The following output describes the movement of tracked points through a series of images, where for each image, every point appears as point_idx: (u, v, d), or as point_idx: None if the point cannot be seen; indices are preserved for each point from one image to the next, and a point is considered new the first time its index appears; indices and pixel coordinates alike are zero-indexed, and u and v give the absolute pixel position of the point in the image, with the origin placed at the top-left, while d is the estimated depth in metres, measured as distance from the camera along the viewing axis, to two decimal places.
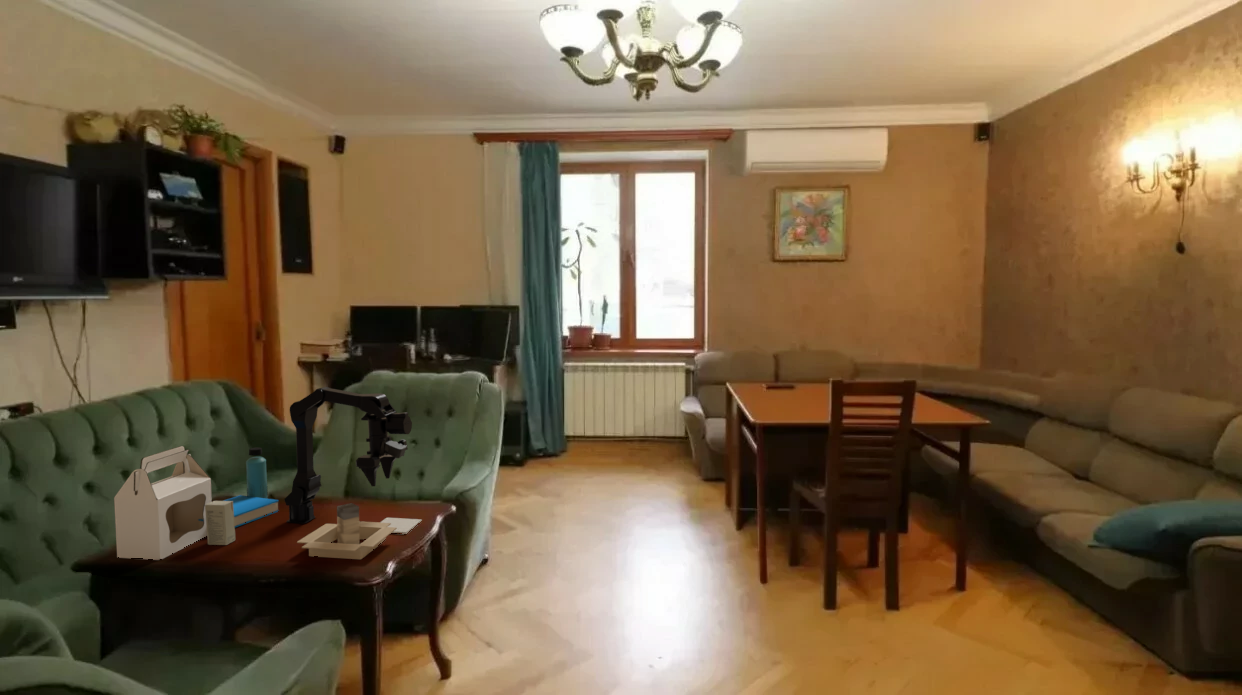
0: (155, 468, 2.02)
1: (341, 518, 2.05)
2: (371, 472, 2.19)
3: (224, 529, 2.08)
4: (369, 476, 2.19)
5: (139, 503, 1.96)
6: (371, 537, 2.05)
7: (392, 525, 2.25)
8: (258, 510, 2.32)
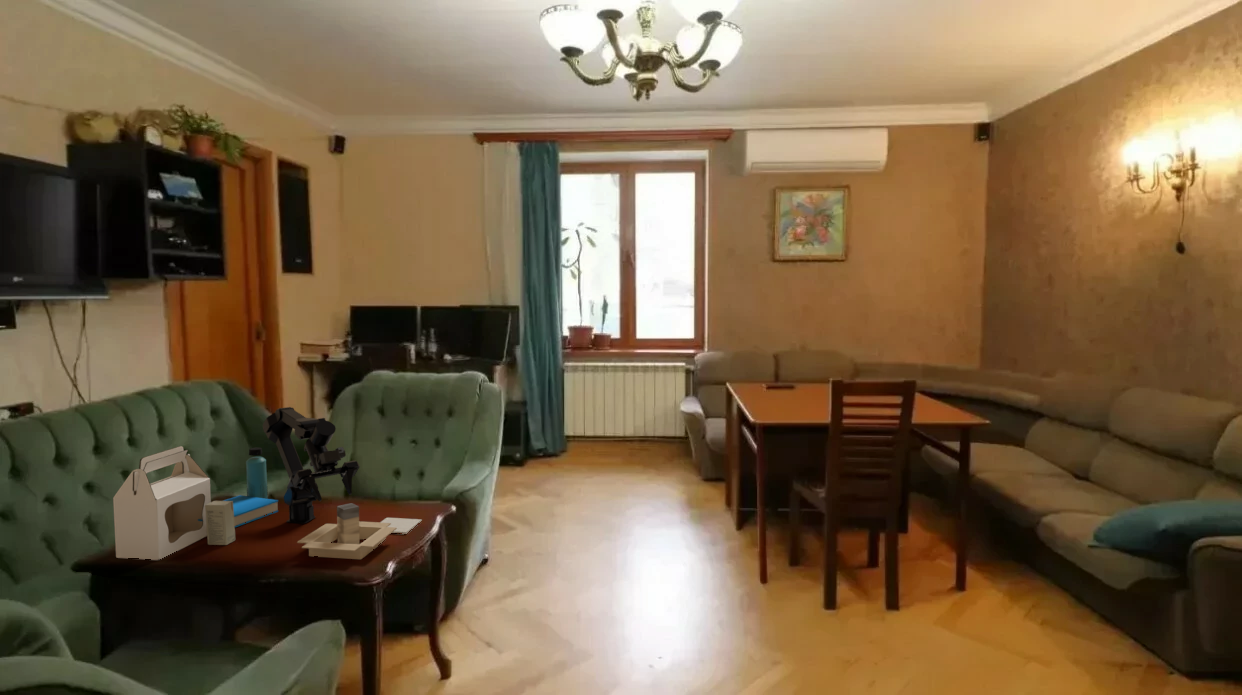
0: (154, 468, 2.02)
1: (341, 518, 2.05)
2: (311, 487, 2.10)
3: (224, 529, 2.08)
4: (312, 492, 2.10)
5: (138, 503, 1.96)
6: (371, 537, 2.05)
7: (392, 525, 2.25)
8: (257, 510, 2.31)
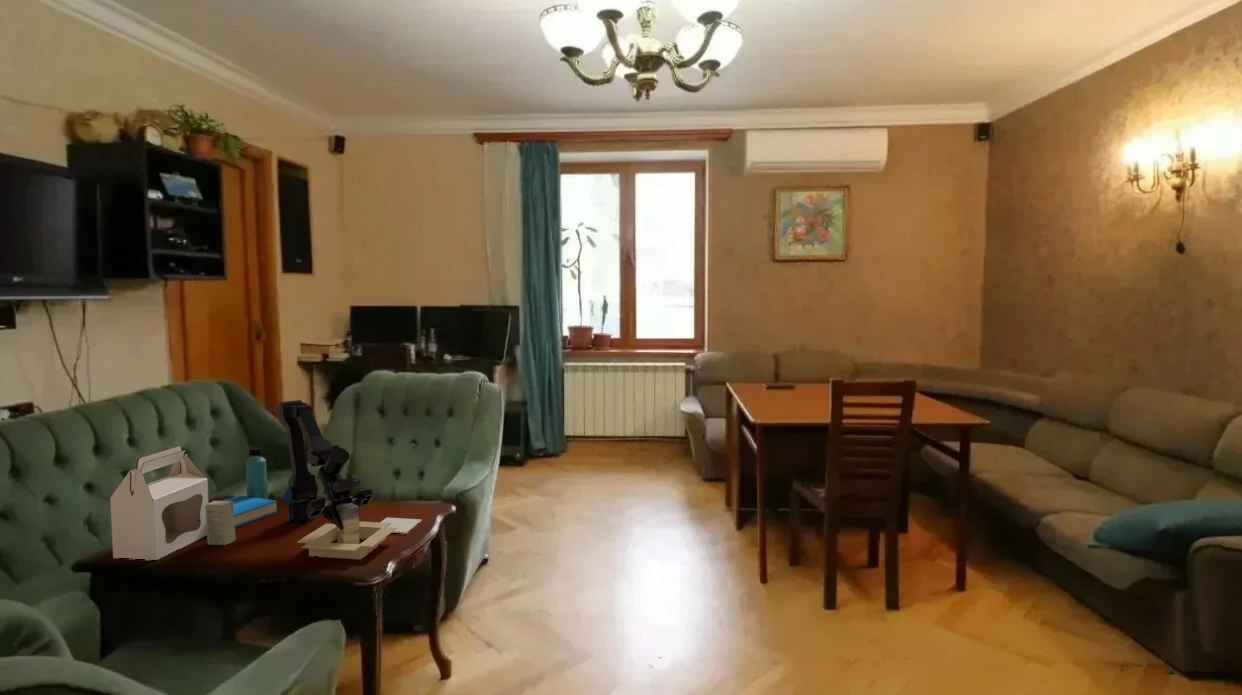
0: (151, 468, 2.02)
1: (341, 518, 2.05)
2: (333, 515, 2.06)
3: (224, 529, 2.08)
4: (334, 520, 2.05)
5: (135, 503, 1.95)
6: (371, 537, 2.05)
7: (392, 525, 2.25)
8: (256, 510, 2.31)
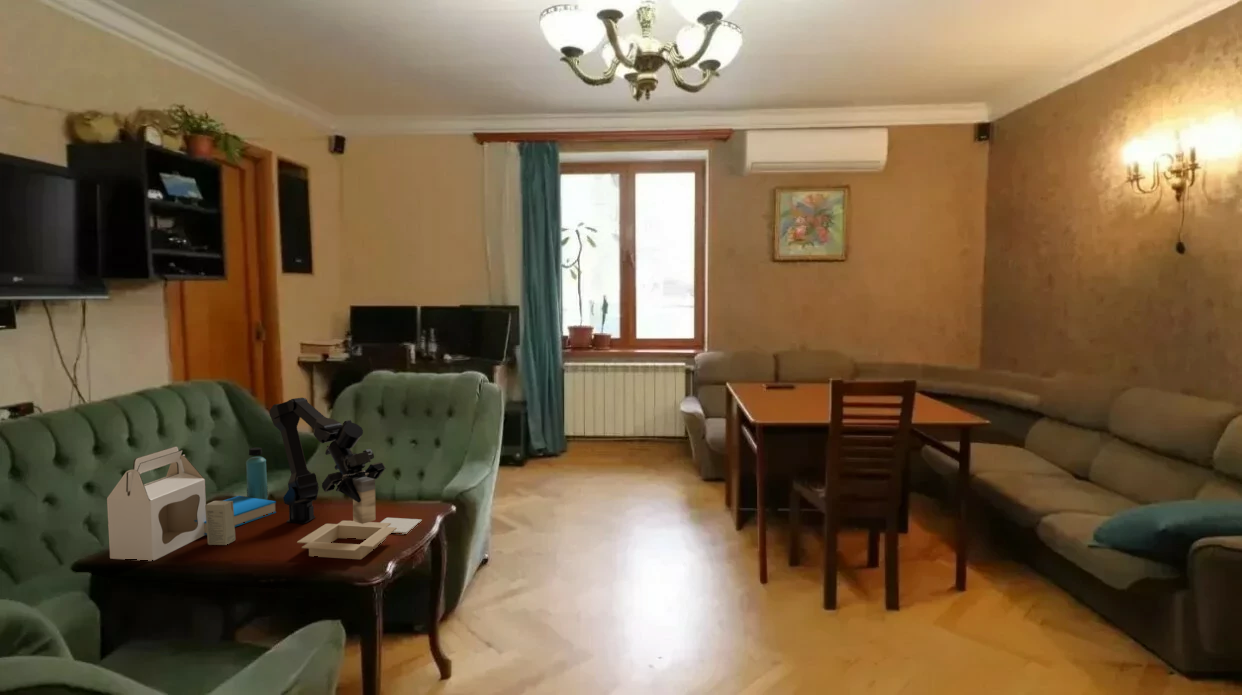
0: (148, 469, 2.01)
1: (358, 491, 2.09)
2: (349, 489, 2.09)
3: (224, 529, 2.08)
4: (350, 494, 2.09)
5: (131, 503, 1.95)
6: (371, 537, 2.05)
7: (392, 525, 2.25)
8: (254, 511, 2.30)
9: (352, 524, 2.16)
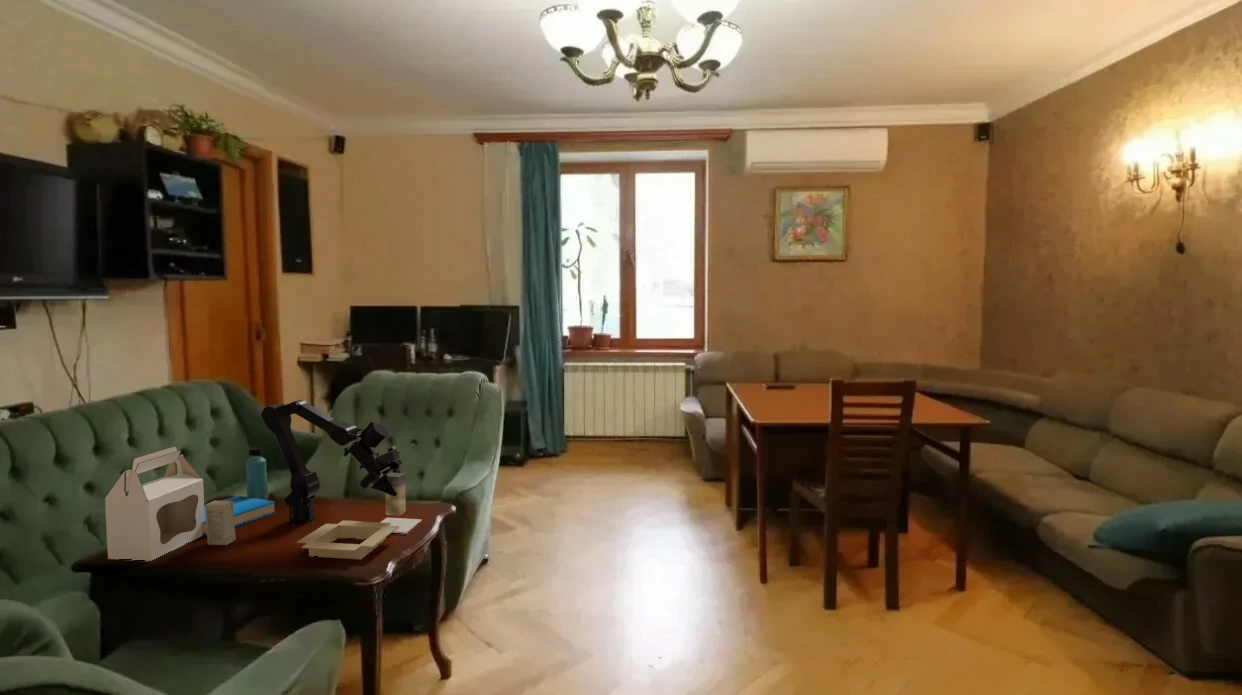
0: (146, 469, 2.01)
1: (393, 485, 2.23)
2: (384, 485, 2.21)
3: (224, 529, 2.08)
4: (385, 489, 2.21)
5: (129, 503, 1.95)
6: (371, 537, 2.05)
7: (392, 525, 2.25)
8: (253, 511, 2.30)
9: (352, 524, 2.16)
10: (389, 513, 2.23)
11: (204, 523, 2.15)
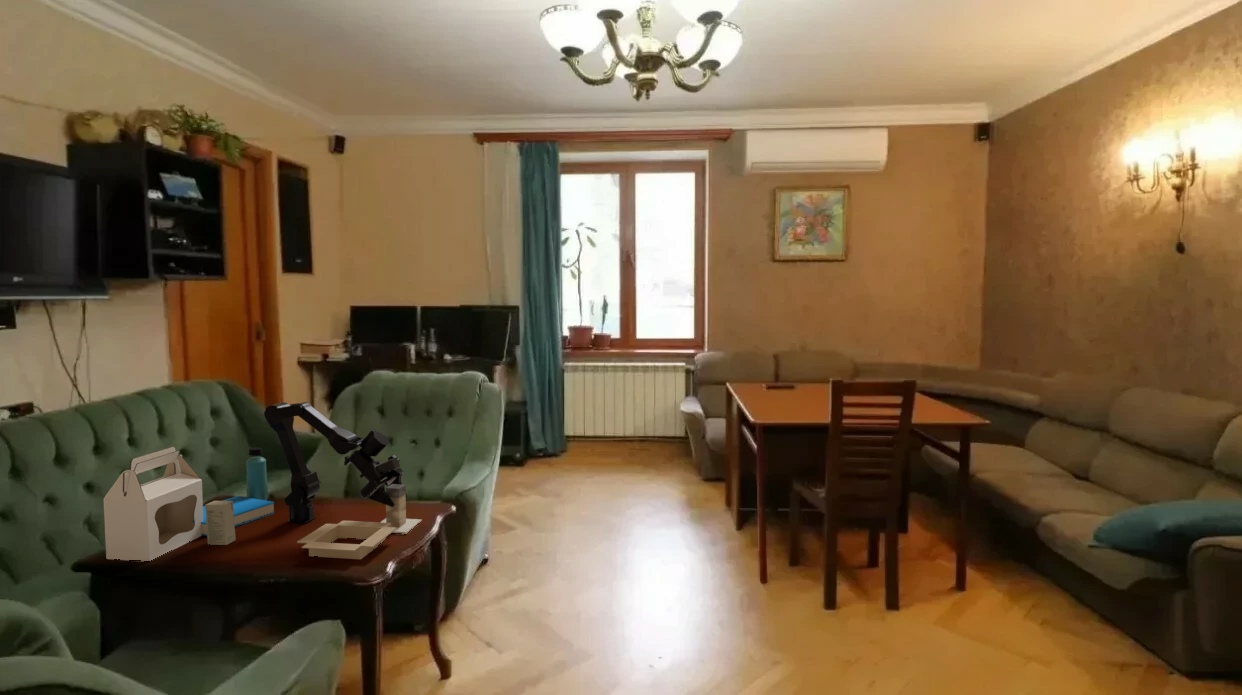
0: (145, 469, 2.01)
1: (393, 497, 2.23)
2: (382, 495, 2.20)
3: (224, 529, 2.08)
4: (383, 500, 2.20)
5: (128, 504, 1.95)
6: (371, 537, 2.05)
7: None
8: (252, 512, 2.30)
9: (352, 524, 2.16)
10: (389, 525, 2.24)
11: (203, 523, 2.15)
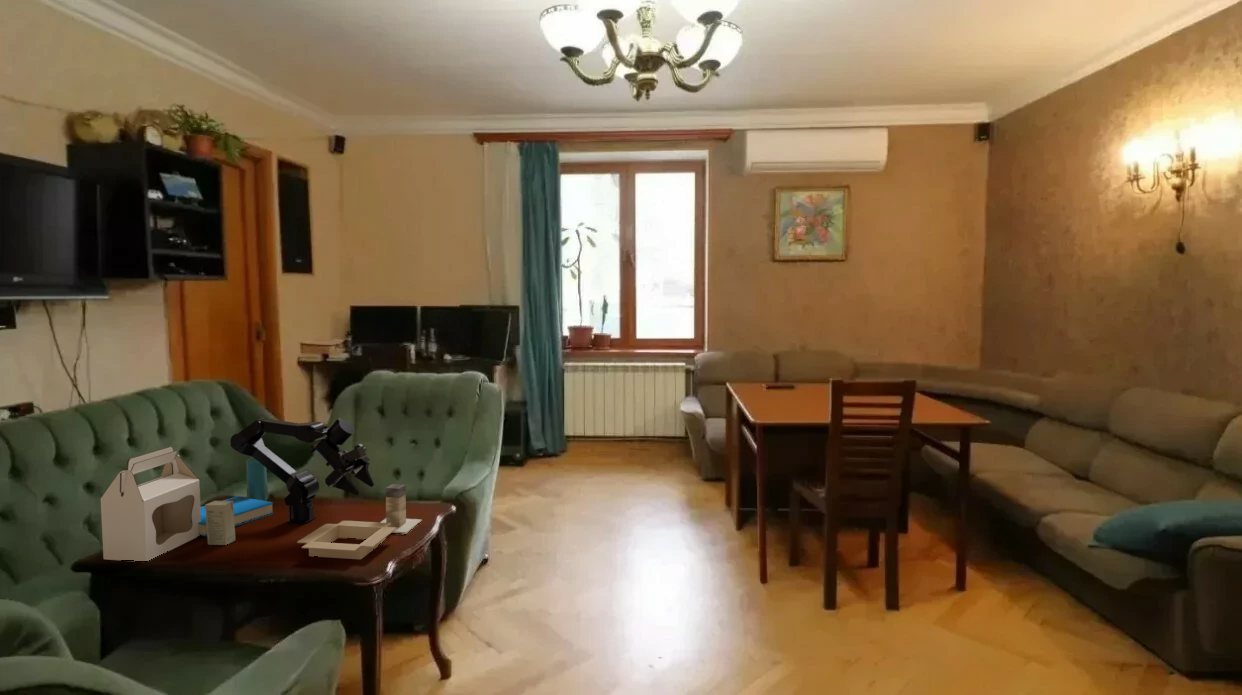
0: (142, 469, 2.01)
1: (393, 497, 2.23)
2: (346, 483, 2.21)
3: (224, 529, 2.08)
4: (348, 488, 2.21)
5: (125, 504, 1.94)
6: (371, 537, 2.05)
7: None
8: (250, 512, 2.29)
9: (352, 524, 2.16)
10: (389, 525, 2.24)
11: (200, 524, 2.15)
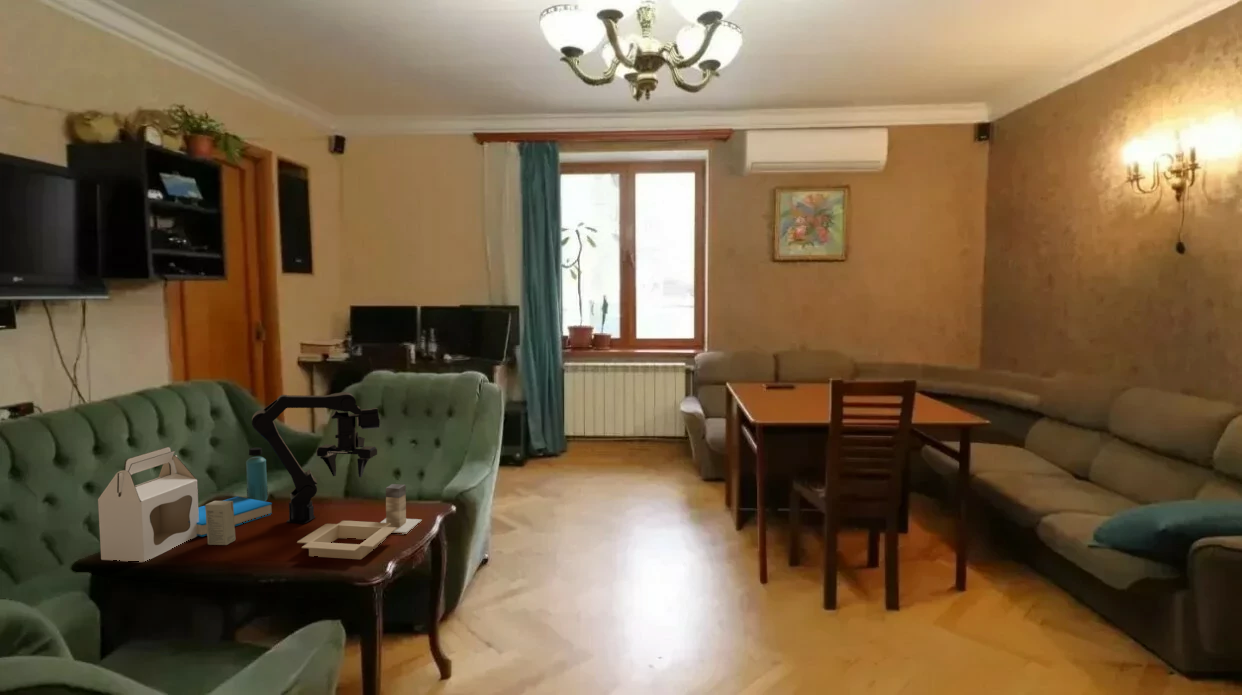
0: (140, 469, 2.00)
1: (393, 497, 2.23)
2: (363, 463, 2.35)
3: (224, 529, 2.08)
4: (362, 467, 2.35)
5: (122, 504, 1.94)
6: (371, 537, 2.05)
7: None
8: (249, 512, 2.29)
9: (352, 524, 2.16)
10: (389, 525, 2.24)
11: (198, 524, 2.14)
